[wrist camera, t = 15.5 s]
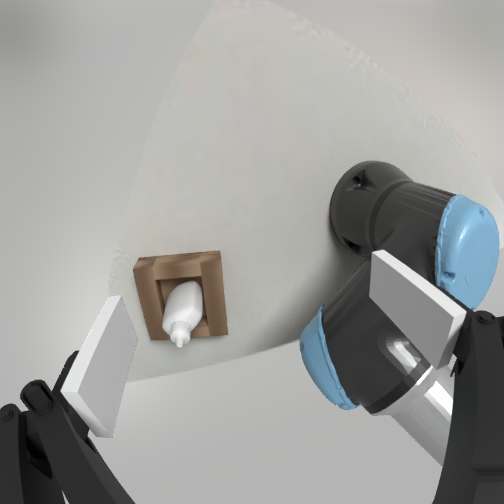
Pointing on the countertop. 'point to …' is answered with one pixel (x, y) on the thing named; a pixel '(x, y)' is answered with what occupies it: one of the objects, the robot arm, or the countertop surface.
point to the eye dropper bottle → (183, 312)
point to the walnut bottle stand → (173, 274)
